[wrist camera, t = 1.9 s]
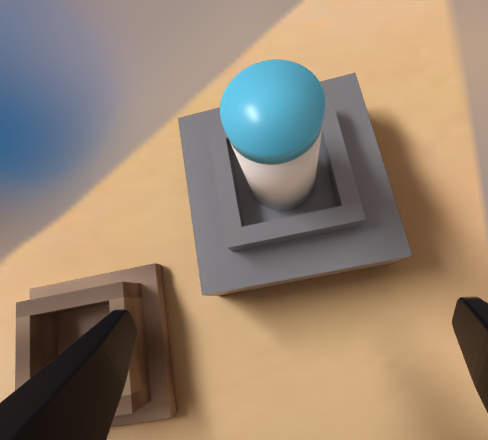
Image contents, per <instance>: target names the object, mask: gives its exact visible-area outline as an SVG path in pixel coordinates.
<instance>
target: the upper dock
mask: <svg viewBox="0 0 488 440" xmlns="http://www.w3.org/2000/svg"><path fill="white" fill-rule="evenodd" d="M320 84H321V86H322V88H323V91H324V95H325V111H324V119H323V126H322V134H321V141H320V149H319V157H318V164H317V172H316V179H315V185H314V189H313V191H312V193H311V195H310V196H309V198H308V199H307V200H306V201H305V202H304V203H303V204H301V205H300V206H298V207H296V208H293V209H290V210H285V211H279V210H273V209H270V208H267V207H265V206H264V205H262V204H261V203H260V202H259V201H258V200H257V199H256V198H255V196H254V195H253V193H252V190H251V188H250V186H249V184H248V181H247V179H246V177H245V175H244V172H243V170H242V168H241V166H240V163H239V161H238V159H237V157H236V154H235V152H234V150H233V148H232V145H231V143H230V141H229V139H228V136H227V134H226V132H225V130H224V127H223V125H222V122H221V118H220V108H216V109H212V110H208V111H204V112H200V113H196V114H192V115H188V116H185V117H181V118H178V121H179V129H180V136H181V143H182V151H183V158H184V165H185V173H186V180H187V187H188V195H189V202H190V209H191V217H192V224H193V231H194V238H195V246H196V253H197V260H198V268H199V275H200V282H201V290H202V295H207V296H221V295H226V294H231V293H237V292H242V291H247V290H253V289H258V288H264V287H269V286H274V285H280V284H285V283H290V282H296V281H301V280H306V279H312V278H317V277H322V276H328V275H333V274H338V273H344V272H349V271H354V270H360V269H365V268H371V267H376V266H381V265H387V264H392V263H395V262H397V261H400V260H403V259H405V258H408V257H410V256H412V253H411V250H410V246H409V243H408V240H407V237H406V233H405V230H404V227H403V224H402V221H401V217H400V214H399V211H398V208H397V205H396V201H395V198H394V195H393V192H392V189H391V185H390V182H389V179H388V176H387V173H386V169H385V166H384V163H383V160H382V157H381V153H380V150H379V147H378V144H377V141H376V137H375V134H374V131H373V128H372V125H371V121H370V118H369V115H368V112H367V109H366V105H365V102H364V99H363V96H362V93H361V89H360V86H359V83H358V80H357V77H356V73H352V74H348V75H344V76H341V77H337V78H333V79H329V80H325V81H321V82H320Z"/></svg>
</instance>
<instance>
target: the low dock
mask: <svg viewBox="0 0 488 440" xmlns="http://www.w3.org/2000/svg"><path fill="white" fill-rule="evenodd" d="M115 309H128V310H129V311H130V313H131V315H132V317H133V320H134V322H135V324H136V326H137V332H138V333H137V339H136V343H135V347H134V351H133V355H132V359H131V363H130V368H129V372H128V376H127V380H126V383H125V387H124V390H123V393H122V396H121V399H120V402H119V405H118V407H117V410H116V413H115V416H114V419H113V422H112V425H111V427H115V426H122V425H129V424H136V423H142V422H149V421H156V420H163V419H170V418H172V417H173V416H174V415H175V414H176V403H175V394H174V385H173V375H172V366H171V357H170V347H169V338H168V328H167V319H166V310H165V300H164V291H163V282H162V272H161V265H159V264H150V265H145V266H140V267H135V268H130V269H125V270H120V271H116V272H111V273H106V274H101V275H96V276H91V277H86V278H81V279H76V280H71V281H66V282H61V283H57V284H52V285H47V286H42V287H37V288H32V289H30V300H27V301H22V302H17V303H16V367H15V390H17V389H18V388H19V387H20V386H22V385H23V384H24V383H25V382H26V381H28V380H29V379H30V378H31V377H32V376H34V375H35V374H36V373H37V372H39V371H40V370H41V369H42V368H43V367H45V366H46V365H47V364H48V363H49V362H51V361H52V360H53V359H54V358H56V357H57V356H58V355H59V354H60V353H62V352H63V351H64V350H65V349H67V348H68V347H69V346H70V345H71V344H73V343H74V342H75V341H76V340H77V339H79V338H80V337H81V336H82V335H84V334H85V333H86V332H87V331H88V330H90V329H91V328H92V327H93V326H94V325H96V324H97V323H98V322H99V321H101V320H102V319H103V318H104V317H105V316H107V315H108V314H109V313H110V312H112V311H113V310H115Z"/></svg>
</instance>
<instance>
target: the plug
mask: <svg viewBox="0 0 488 440" xmlns="http://www.w3.org/2000/svg"><path fill="white" fill-rule="evenodd" d="M324 111H325V95H324V91H323V88H322V86H321V84H320V82H319V80H318V79H317V78H316V76H315V75H314V74H313V73H312V72H311V71H309V70H308V69H307V68H305V67H303V66H302V65H300V64H297V63H295V62H291V61H287V60H267V61H263V62H259V63H256V64H254V65H251V66H249V67H247V68H246V69H244V70H243V71H241V72H240V73H239V74H237V75H236V76H235V77H234V78H233V79H232V81H231V82H230V83H229V85H228V86H227V88H226V89H225V91H224V94H223V96H222V99H221V104H220V118H221V122H222V125H223V127H224V130H225V132H226V134H227V136H228V139H229V141H230V143H231V145H232V148H233V150H234V152H235V154H236V157H237V159H238V161H239V163H240V166H241V168H242V170H243V172H244V175H245V177H246V179H247V181H248V184H249V186H250V188H251V190H252V193H253V195H254V196H255V198H256V199H257V200H258V201H259V202H260V203H261V204H262V205H264V206H265V207H267V208H270V209H273V210H279V211H285V210H290V209H293V208H296V207H298V206H300V205H301V204H303V203H304V202H305V201H306V200H307V199H308V198H309V196H310V195H311V193H312V191H313V189H314V185H315V179H316V172H317V164H318V157H319V149H320V141H321V134H322V126H323V119H324Z"/></svg>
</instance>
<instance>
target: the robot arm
mask: <svg viewBox="0 0 488 440" xmlns="http://www.w3.org/2000/svg"><path fill="white" fill-rule="evenodd" d="M452 325H453V329H454V332H455V335H456V337H457V340H458V343H459V345H460V348H461V351H462V353H463V356H464V359H465V362H466V364H467V367H468V370H469V372H470V375H471V378H472V380H473V383H474V385H475V388H476V390H477V392H478V394H479V396H480V398H481V400H482V402H483V404H484V406H485V408H486V410H487V413H488V303H487V302H485V301H483V300H482V299H480V298H478V297H461V298H459V299H458V300H457V303H456V307H455V311H454V315H453V319H452ZM137 333H138V332H137V326H136V324H135V322H134V320H133V317H132V315H131V313H130V311H129V310H128V309H115V310H113V311H112V312H110V313H109V314H108V315H107V316H105V317H104V318H103V319H102V320H101V321H99V322H98V323H97V324H96V325H94V326H93V327H92V328H91V329H90V330H88V331H87V332H86V333H85V334H84V335H82V336H81V337H80V338H79V339H77V340H76V341H75V342H74V343H73V344H71V345H70V346H69V347H68V348H67V349H65V350H64V351H63V352H62V353H60V354H59V355H58V356H57V357H56V358H54V359H53V360H52V361H51V362H49V363H48V364H47V365H46V366H45V367H43V368H42V369H41V370H40V371H39V372H37V373H36V374H35V375H34V376H32V377H31V378H30V379H29V380H28V381H26V382H25V383H24V384H23V385H22V386H20V387H19V388H18V389H17V390H15V391H14V392H13V393H12V394H11V395H9V396H8V397H7V398H6V399H5V400H3V401H2V402H1V403H0V440H106V439H107V436H108V433H109V430H110V427H111V425H112V422H113V419H114V416H115V413H116V410H117V407H118V405H119V402H120V399H121V396H122V393H123V390H124V387H125V383H126V380H127V376H128V372H129V368H130V363H131V359H132V355H133V351H134V347H135V343H136V339H137Z"/></svg>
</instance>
